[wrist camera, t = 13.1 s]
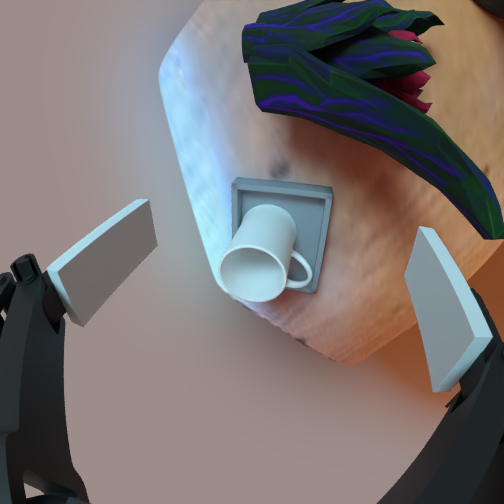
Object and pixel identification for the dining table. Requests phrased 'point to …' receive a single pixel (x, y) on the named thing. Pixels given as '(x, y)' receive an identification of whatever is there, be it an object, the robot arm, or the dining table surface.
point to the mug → (261, 255)
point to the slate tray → (302, 211)
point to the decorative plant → (365, 89)
